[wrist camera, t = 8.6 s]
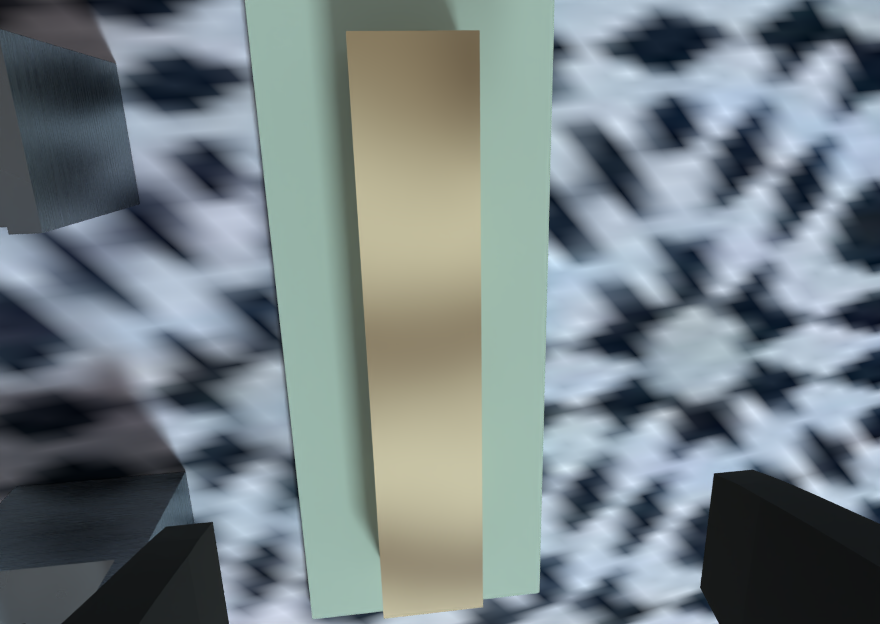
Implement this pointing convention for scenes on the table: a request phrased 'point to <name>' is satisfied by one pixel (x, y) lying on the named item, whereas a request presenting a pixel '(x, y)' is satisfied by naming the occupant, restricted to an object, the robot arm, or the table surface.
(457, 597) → the oak rail
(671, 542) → the table surface
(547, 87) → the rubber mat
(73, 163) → the cradle stands
